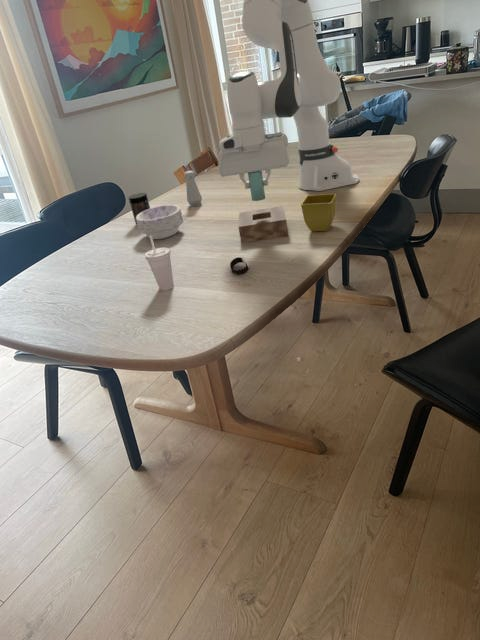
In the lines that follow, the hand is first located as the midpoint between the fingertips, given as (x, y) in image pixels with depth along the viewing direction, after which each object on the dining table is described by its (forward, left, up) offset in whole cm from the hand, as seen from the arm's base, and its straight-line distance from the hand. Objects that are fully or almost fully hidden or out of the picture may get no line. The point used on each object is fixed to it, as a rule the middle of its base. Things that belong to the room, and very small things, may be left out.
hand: (256, 186), depth 138 cm
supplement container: (+44, -30, -14) cm, 55 cm away
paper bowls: (+34, -13, -14) cm, 39 cm away
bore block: (0, 0, -14) cm, 14 cm away
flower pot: (-17, +5, -14) cm, 23 cm away
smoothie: (+26, +31, -14) cm, 43 cm away
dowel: (0, 0, -4) cm, 4 cm away
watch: (+7, +27, -14) cm, 31 cm away
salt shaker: (+26, -44, -14) cm, 53 cm away
